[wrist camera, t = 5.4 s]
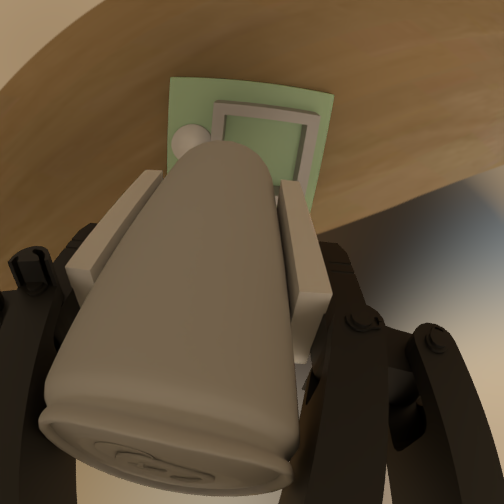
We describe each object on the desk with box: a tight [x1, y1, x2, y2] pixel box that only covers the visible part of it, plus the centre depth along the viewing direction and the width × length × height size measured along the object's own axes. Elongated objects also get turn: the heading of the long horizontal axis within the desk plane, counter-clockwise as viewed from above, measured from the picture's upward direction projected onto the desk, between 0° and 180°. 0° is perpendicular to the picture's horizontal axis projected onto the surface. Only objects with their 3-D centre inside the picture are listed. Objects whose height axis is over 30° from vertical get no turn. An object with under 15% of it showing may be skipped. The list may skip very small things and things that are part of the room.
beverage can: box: [38, 140, 300, 496], centre depth 9 cm, size 5×5×12 cm
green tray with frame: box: [167, 77, 334, 213], centre depth 27 cm, size 15×13×4 cm
